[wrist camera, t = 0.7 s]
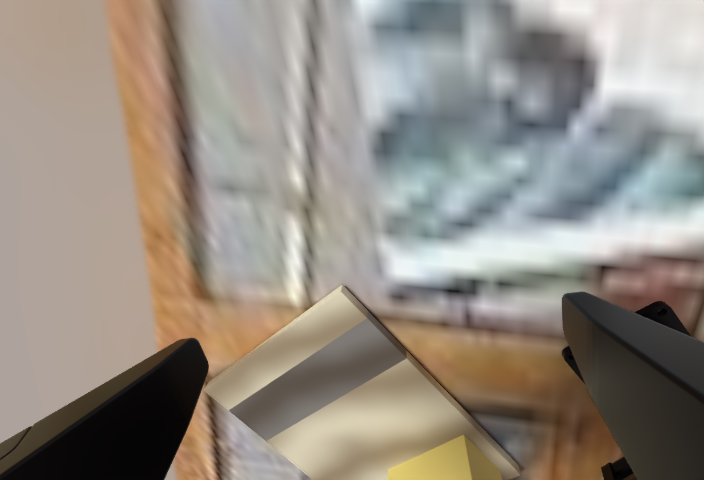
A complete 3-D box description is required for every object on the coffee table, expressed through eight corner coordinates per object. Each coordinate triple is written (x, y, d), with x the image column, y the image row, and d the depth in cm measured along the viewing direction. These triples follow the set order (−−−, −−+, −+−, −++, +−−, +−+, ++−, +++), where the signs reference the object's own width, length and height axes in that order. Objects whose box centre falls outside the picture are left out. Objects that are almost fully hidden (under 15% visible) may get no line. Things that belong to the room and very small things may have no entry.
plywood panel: (518, 464, 29) (521, 475, 28) (377, 522, 34) (376, 532, 33) (342, 284, 24) (340, 291, 23) (208, 382, 29) (203, 390, 28)
